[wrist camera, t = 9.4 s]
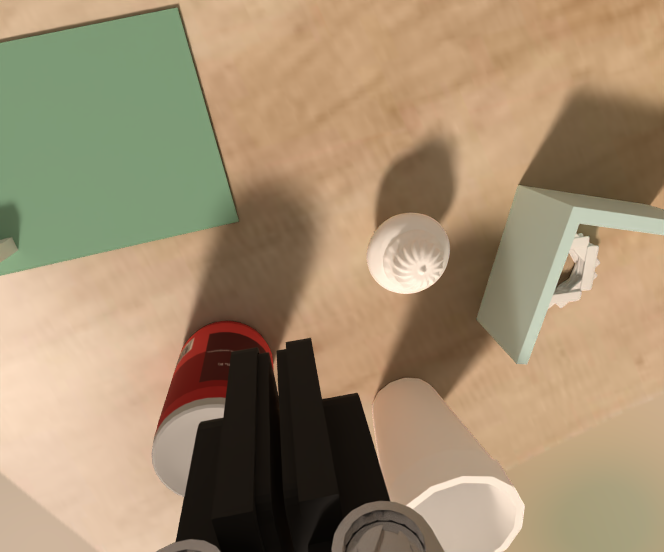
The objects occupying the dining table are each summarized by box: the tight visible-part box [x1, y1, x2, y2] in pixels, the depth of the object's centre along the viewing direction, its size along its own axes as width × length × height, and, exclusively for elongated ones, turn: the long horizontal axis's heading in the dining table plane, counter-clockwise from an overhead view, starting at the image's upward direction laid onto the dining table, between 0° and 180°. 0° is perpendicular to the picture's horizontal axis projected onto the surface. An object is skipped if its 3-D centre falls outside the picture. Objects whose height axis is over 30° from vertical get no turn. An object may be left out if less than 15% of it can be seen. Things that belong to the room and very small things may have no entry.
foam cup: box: [372, 378, 525, 552], centre depth 37 cm, size 10×9×13 cm
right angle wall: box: [476, 185, 664, 364], centre depth 36 cm, size 12×12×8 cm
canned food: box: [152, 321, 273, 497], centre depth 33 cm, size 8×8×11 cm
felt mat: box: [0, 8, 239, 276], centre depth 30 cm, size 26×14×1 cm, turn 101°
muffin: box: [367, 213, 450, 294], centre depth 33 cm, size 6×6×7 cm
